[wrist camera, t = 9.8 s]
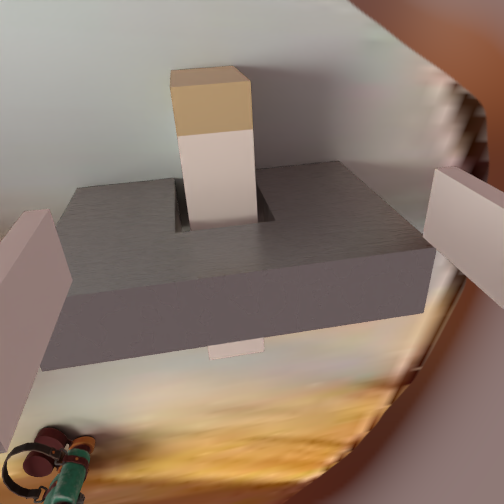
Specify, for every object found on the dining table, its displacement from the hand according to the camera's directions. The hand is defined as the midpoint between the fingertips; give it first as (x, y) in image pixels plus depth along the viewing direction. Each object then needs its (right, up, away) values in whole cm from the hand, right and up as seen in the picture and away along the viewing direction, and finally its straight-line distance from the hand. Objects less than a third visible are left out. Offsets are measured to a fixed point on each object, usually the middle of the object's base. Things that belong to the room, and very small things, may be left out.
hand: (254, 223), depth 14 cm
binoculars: (-25, -26, +38) cm, 52 cm away
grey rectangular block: (-3, +4, +25) cm, 25 cm away
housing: (-4, +4, +25) cm, 25 cm away
